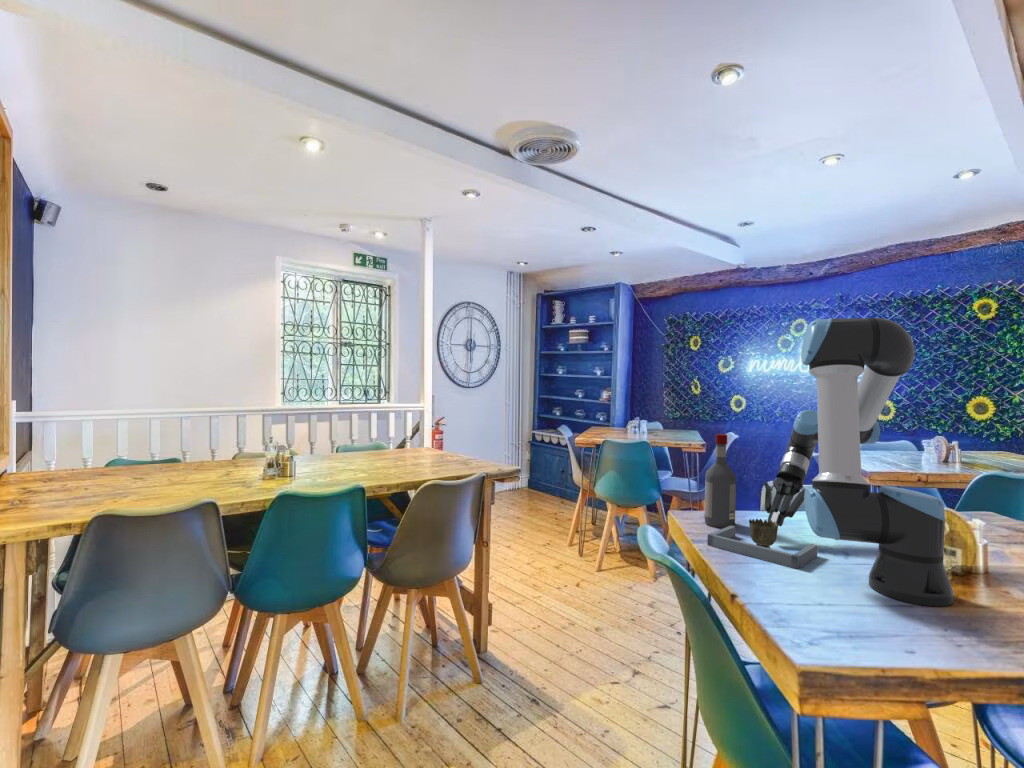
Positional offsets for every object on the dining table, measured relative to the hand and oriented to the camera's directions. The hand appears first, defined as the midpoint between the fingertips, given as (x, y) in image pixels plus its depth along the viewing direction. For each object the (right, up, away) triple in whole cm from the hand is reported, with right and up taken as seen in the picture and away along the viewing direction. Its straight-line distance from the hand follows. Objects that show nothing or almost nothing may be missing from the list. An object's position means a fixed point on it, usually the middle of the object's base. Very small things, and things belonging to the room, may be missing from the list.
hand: (771, 533), depth 148 cm
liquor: (-7, -3, +21) cm, 22 cm away
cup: (-5, -3, -5) cm, 8 cm away
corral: (-5, -3, -5) cm, 8 cm away
